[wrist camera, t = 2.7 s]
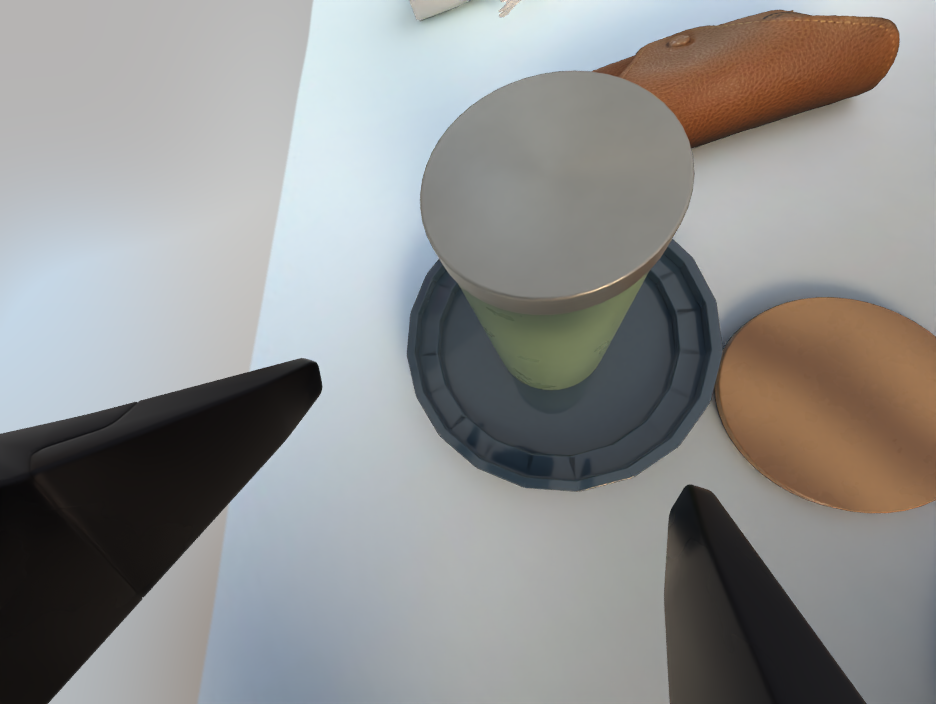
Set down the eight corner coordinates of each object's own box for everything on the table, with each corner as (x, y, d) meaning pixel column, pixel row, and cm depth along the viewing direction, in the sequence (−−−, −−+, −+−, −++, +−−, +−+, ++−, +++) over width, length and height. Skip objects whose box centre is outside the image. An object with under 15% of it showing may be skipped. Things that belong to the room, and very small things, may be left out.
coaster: (896, 563, 15) (910, 567, 15) (673, 417, 19) (677, 416, 18) (1016, 376, 16) (1033, 373, 15) (780, 267, 19) (787, 262, 19)
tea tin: (563, 415, 19) (582, 357, 7) (474, 350, 21) (370, 218, 9) (630, 324, 20) (757, 122, 8) (537, 269, 22) (518, 40, 10)
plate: (588, 556, 18) (592, 569, 16) (371, 369, 23) (355, 363, 21) (767, 304, 19) (791, 288, 17) (521, 181, 24) (518, 158, 22)
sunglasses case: (795, -1, 23) (913, -103, 16) (805, 120, 24) (916, 71, 18) (515, 106, 25) (520, 56, 19) (540, 209, 27) (553, 194, 20)
